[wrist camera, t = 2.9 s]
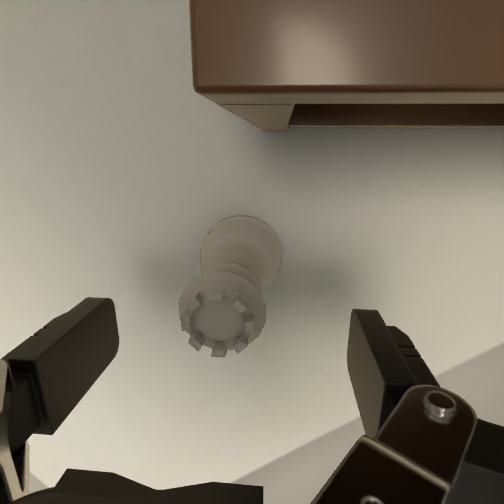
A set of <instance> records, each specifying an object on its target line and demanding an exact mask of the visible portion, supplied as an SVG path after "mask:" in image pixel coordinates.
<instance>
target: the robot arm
mask: <svg viewBox="0 0 504 504" xmlns="http://www.w3.org/2000/svg"><path fill="white" fill-rule="evenodd" d="M118 347H119V334H118V327H117V320H116V313H115V306H114V302H113V300H112V299H110V298H93V297H88V298H86V299H84V300H83V301H82V302H80V303H79V304H78V305H77V306H75V307H74V308H73V309H71V310H70V311H69V312H67V313H65V314H62V315H60V316H58V317H56V318H54V319H53V320H52V321H50V322H49V323H48V324H46V325H45V326H44V327H43V329H40V330H38V331H37V332H36V333H34V335H33V336H30V337H29V338H28V339H26V340H25V341H24V342H22V343H21V344H20V345H19V346H17V347H16V348H15V349H13V350H12V351H11V352H9V353H8V354H7V355H5V356H4V357H3V358H1V359H0V504H263V486H252V485H242V484H241V485H240V484H231V483H220V482H209V483H203V484H197V485H190V486H184V487H178V488H172V489H165V490H155V489H152V488H150V487H147V486H145V485H142V484H140V483H137V482H135V481H132V480H130V479H128V478H125V477H123V476H120V475H118V474H115V473H111V472H100V471H89V470H78V469H67V470H66V471H65V473H64V474H63V475H62V477H61V478H60V480H59V481H58V483H57V484H56V486H55V487H52V488H48V489H44V490H40V491H37V492H34V493H31V494H29V445H28V441H27V439H28V438H29V437H30V436H31V435H32V433H33V434H46V435H53V434H54V432H55V431H56V430H57V429H58V427H59V426H60V425H61V424H62V422H63V421H64V420H65V419H66V417H67V416H68V415H69V414H70V412H71V411H72V410H73V409H74V407H75V406H76V405H77V404H78V402H79V401H80V400H81V399H82V397H83V396H84V395H85V394H86V392H87V391H88V390H89V389H90V387H91V386H92V385H93V384H94V382H95V381H96V380H97V379H98V377H99V376H100V375H101V374H102V372H103V371H104V370H105V369H106V367H107V366H108V365H109V364H110V362H111V361H112V360H113V359H114V357H115V356H116V354H117V351H118ZM347 365H348V372H349V375H350V379H351V383H352V386H353V390H354V394H355V397H356V401H357V405H358V408H359V412H360V416H361V419H362V423H363V426H364V430H365V434H366V435H363V436H361V437H360V438H359V439H358V440H357V442H356V443H355V444H354V446H353V447H352V448H351V450H350V451H349V452H348V454H347V455H346V457H345V458H344V459H343V461H342V462H341V463H340V465H339V466H338V467H337V469H336V470H335V471H334V473H333V474H332V475H331V477H330V478H329V479H328V481H327V482H326V484H325V485H324V486H323V487H322V489H321V490H320V492H319V493H318V494H317V495H316V497H315V498H314V500H313V501H312V502H311V504H504V427H503V426H500V425H496V424H493V423H489V422H486V421H483V420H481V419H478V418H477V416H476V413H475V411H474V410H473V408H472V407H471V406H470V405H469V404H468V403H467V402H466V401H465V400H464V399H462V398H461V397H460V396H458V395H456V394H455V393H453V392H451V391H449V390H446V389H443V388H441V387H440V386H439V384H438V383H437V381H436V380H435V378H434V376H433V374H432V373H431V371H430V370H429V368H428V367H427V365H426V363H425V362H424V360H423V359H422V358H421V356H420V354H419V352H418V351H417V349H415V346H414V345H413V343H412V341H411V340H410V338H409V337H408V335H406V334H405V333H403V332H402V331H401V330H399V329H398V328H397V327H395V326H386V325H385V323H384V321H383V319H382V317H381V316H380V314H379V312H378V311H377V310H363V309H353V310H352V313H351V319H350V329H349V339H348V349H347Z"/></svg>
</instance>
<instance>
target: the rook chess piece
mask: <svg viewBox="0 0 504 504" xmlns="http://www.w3.org/2000/svg"><path fill="white" fill-rule="evenodd" d="M200 257H201V270H202V272H203V273H202V274H201V275H200V276H198V277H195V278H194V279H193V280H192V281H191V282H190V283H189V284H188V285H187V286H186V287H185V288H184V290H183V292H182V295H181V297H180V300H179V303H178V304H179V317H180V320H181V326H182V331H184V330H186V332H187V333H188V334H189V335H190V336H191V337H190V339H189V341H188V343H189V344H190V345H191V346H193V347H194V348H195V349H196V350H197V351H199V350H200V348H201V347H202V345H205V346H207V347H210V348H212V354H211V357H225V355H226V351H227V350H234V349H235V351H236V352H237V353H239V352H240V351H241V350H243V349H244V348H245V347H246V346H248V344H249V343H250V342H252V341H253V340H254V339H255V338H257V337H258V336H259V334H260V332H261V330H262V328H263V326H264V324H265V312H266V306H265V304H264V302H263V299H262V293H263V292H264V291H265V290H266V289H268V288H269V287H270V286H271V285H272V284H273V283H274V281H275V279H276V277H277V275H278V273H279V271H280V266H281V264H282V247H281V245H280V242H279V240H278V237H277V235H276V234H275V233H274V232H273V231H272V230H271V229H270V228H269V227H268V225H267V224H266V223H264V222H262V221H259V220H257V219H255V218H252V217H248V216H233V217H230V218H228V219H225V220H223V221H220V222H218V223H217V224H216V225H215V226H214V227H213V228H212V229H211V230H210V231H209V232H208V234H207V237H206V238H205V241H204V244H203V246H202V249H201V251H200Z"/></svg>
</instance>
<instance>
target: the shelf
mask: <svg viewBox="0 0 504 504" xmlns="http://www.w3.org/2000/svg"><path fill="white" fill-rule="evenodd" d="M189 6H190V29H191V52H192V75H193V87H194V90H195V92H197V93H198V94H200V95H202V96H204V97H205V98H207V99H209V100H211V101H213V102H215V103H216V104H218V105H220V106H221V107H223V108H225V109H227V110H228V111H230V112H232V113H234V114H235V115H237V116H239V117H241V118H243V119H244V120H246V121H248V122H250V123H251V124H253V125H255V126H257V127H259V128H260V129H262V130H264V131H285V130H286V129H287V127H288V126H289V127H478V128H504V0H189Z"/></svg>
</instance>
